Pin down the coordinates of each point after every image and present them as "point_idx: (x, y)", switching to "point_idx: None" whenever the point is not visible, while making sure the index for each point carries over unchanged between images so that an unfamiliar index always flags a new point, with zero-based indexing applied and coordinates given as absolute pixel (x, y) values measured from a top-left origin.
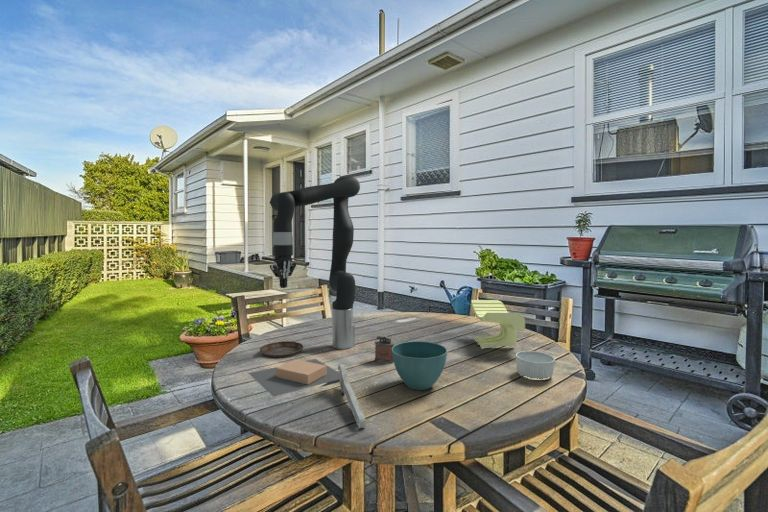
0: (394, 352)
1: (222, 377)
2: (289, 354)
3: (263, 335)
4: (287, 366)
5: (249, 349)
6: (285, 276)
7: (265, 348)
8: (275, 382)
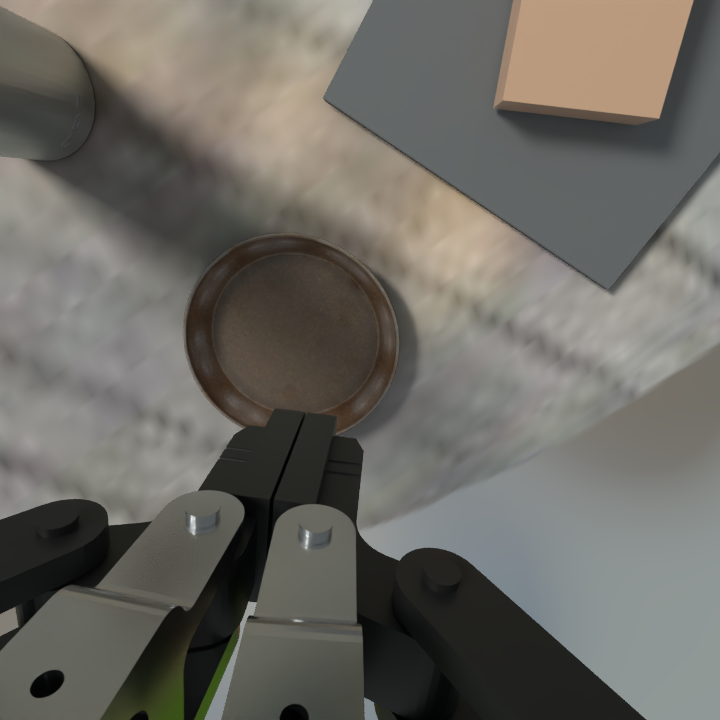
0: None
1: (642, 376)
2: (348, 254)
3: None
4: (625, 67)
5: None
6: (240, 545)
7: None
8: (696, 83)
